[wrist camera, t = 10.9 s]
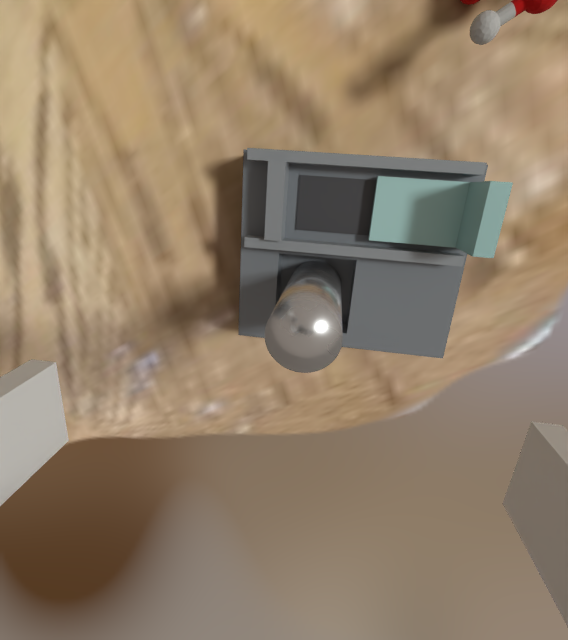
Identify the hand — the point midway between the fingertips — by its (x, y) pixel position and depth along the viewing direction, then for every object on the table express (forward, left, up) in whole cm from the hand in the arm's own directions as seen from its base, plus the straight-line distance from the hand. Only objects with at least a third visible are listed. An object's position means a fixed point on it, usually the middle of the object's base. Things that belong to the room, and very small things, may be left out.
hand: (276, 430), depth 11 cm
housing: (+2, +2, -18) cm, 18 cm away
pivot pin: (0, 0, -17) cm, 17 cm away
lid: (+6, +6, -15) cm, 17 cm away
